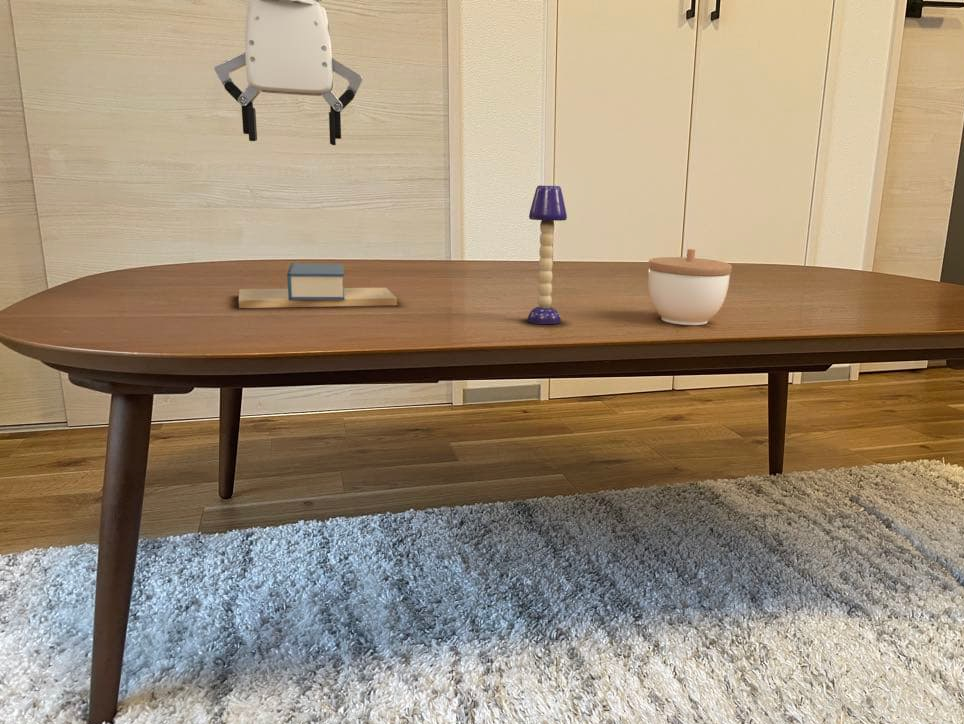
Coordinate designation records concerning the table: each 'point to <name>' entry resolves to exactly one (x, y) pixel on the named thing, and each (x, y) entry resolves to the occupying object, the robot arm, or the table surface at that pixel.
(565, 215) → the toy lamp
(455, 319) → the table surface
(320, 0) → the robot arm
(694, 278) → the trinket box
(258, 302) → the birch board
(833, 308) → the table surface
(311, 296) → the blue rectangular block
